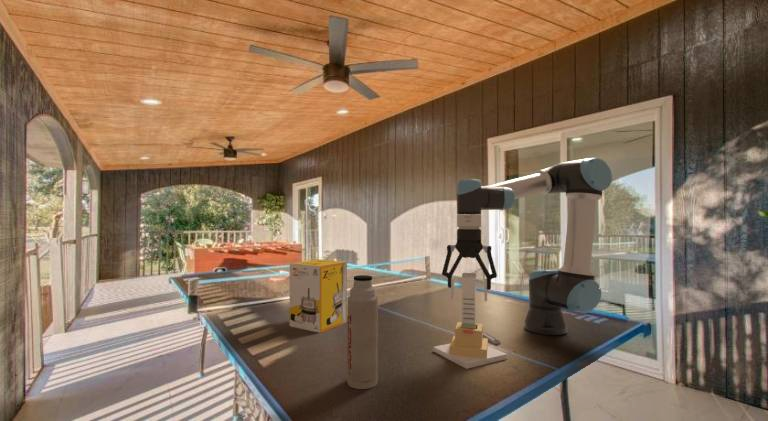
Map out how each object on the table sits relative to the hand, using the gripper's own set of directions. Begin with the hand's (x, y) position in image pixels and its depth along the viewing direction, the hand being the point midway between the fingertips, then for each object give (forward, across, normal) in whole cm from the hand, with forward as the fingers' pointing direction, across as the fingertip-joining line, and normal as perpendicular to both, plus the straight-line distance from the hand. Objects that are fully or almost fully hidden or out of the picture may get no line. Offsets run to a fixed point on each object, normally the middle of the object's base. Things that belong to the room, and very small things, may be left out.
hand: (469, 299), depth 120 cm
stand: (+18, 0, 0) cm, 18 cm away
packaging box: (+18, -61, +17) cm, 66 cm away
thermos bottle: (+18, -26, -28) cm, 42 cm away
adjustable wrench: (+18, +2, +23) cm, 30 cm away
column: (+10, 0, 0) cm, 10 cm away
